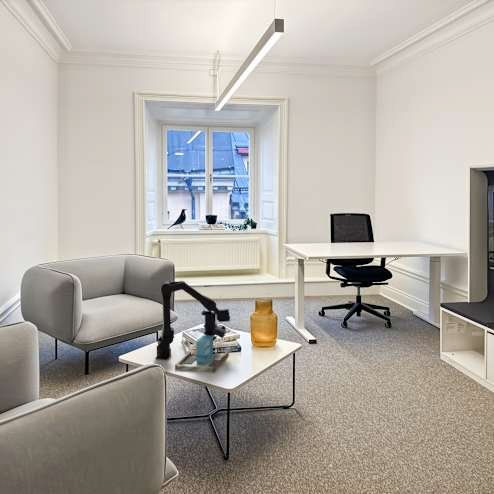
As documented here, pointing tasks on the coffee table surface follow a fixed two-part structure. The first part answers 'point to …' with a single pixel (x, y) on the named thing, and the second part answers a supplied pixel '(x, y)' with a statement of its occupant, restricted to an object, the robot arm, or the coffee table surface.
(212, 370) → the grey tray
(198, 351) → the data package
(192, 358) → the trap pads
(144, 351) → the coffee table surface
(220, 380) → the coffee table surface
